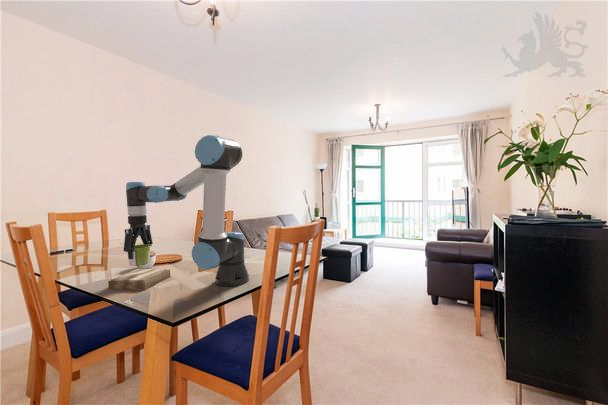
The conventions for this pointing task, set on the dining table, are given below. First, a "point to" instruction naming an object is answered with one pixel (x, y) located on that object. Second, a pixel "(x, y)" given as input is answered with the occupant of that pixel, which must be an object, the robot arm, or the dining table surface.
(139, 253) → the plant pot
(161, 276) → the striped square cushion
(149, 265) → the lidded jar
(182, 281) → the dining table surface
